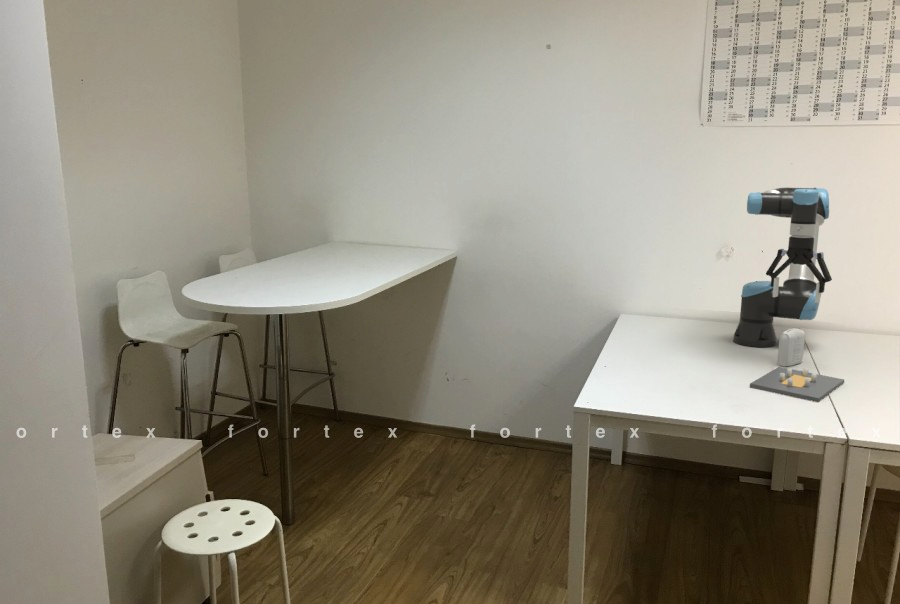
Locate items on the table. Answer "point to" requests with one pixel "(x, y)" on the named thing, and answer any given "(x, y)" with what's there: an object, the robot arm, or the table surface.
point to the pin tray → (797, 383)
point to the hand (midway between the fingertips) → (795, 299)
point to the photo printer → (791, 347)
